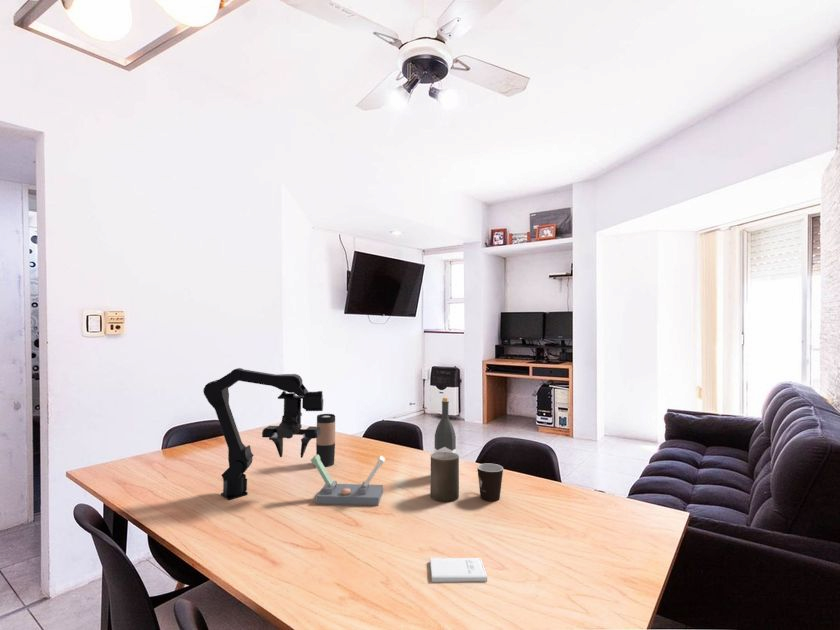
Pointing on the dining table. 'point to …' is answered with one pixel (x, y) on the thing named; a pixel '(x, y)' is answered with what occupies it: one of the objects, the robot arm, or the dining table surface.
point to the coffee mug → (490, 481)
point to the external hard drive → (457, 569)
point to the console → (350, 495)
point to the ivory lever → (373, 472)
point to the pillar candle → (444, 476)
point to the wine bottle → (445, 432)
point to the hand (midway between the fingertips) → (291, 457)
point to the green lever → (323, 471)
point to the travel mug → (326, 439)
